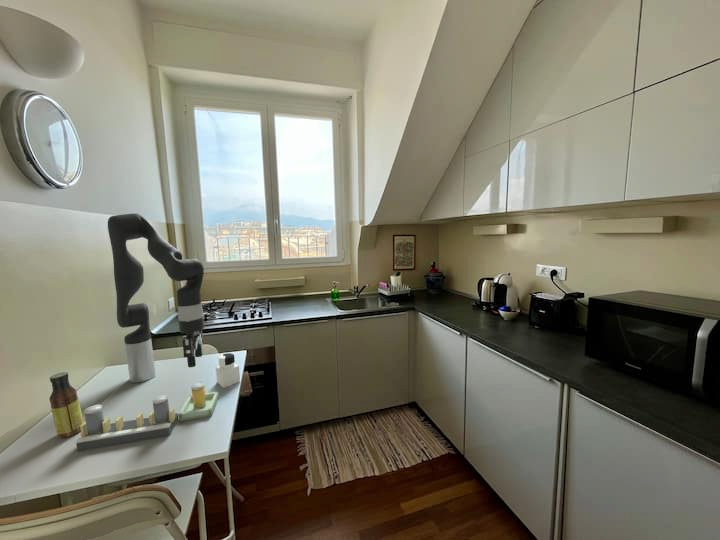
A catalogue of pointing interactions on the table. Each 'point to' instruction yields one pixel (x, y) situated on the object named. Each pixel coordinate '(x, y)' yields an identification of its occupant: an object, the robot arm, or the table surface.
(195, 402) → the cylinder
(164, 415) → the cylinder
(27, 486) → the table surface
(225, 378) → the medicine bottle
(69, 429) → the sauce bottle
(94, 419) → the dome-capped grey cylinder
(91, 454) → the table surface
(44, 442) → the table surface
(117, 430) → the fuse block
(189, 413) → the tray
